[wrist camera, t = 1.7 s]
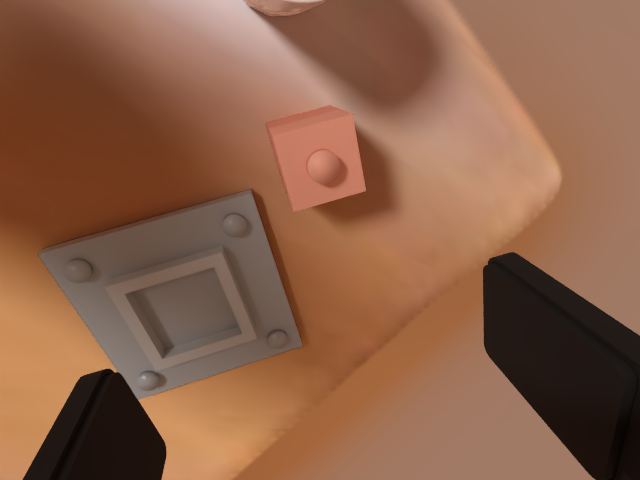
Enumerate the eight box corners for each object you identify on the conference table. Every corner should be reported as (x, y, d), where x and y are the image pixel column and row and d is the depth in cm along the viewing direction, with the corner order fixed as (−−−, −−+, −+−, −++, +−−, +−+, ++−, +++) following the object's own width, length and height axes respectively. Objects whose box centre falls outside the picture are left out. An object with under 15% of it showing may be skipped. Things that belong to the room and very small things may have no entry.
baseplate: (44, 248, 27) (29, 262, 25) (251, 189, 28) (252, 198, 26) (139, 391, 34) (134, 410, 32) (301, 339, 36) (304, 354, 34)
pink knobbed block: (265, 122, 27) (273, 138, 21) (329, 105, 27) (356, 115, 21) (283, 185, 29) (295, 216, 23) (342, 168, 29) (369, 194, 23)
